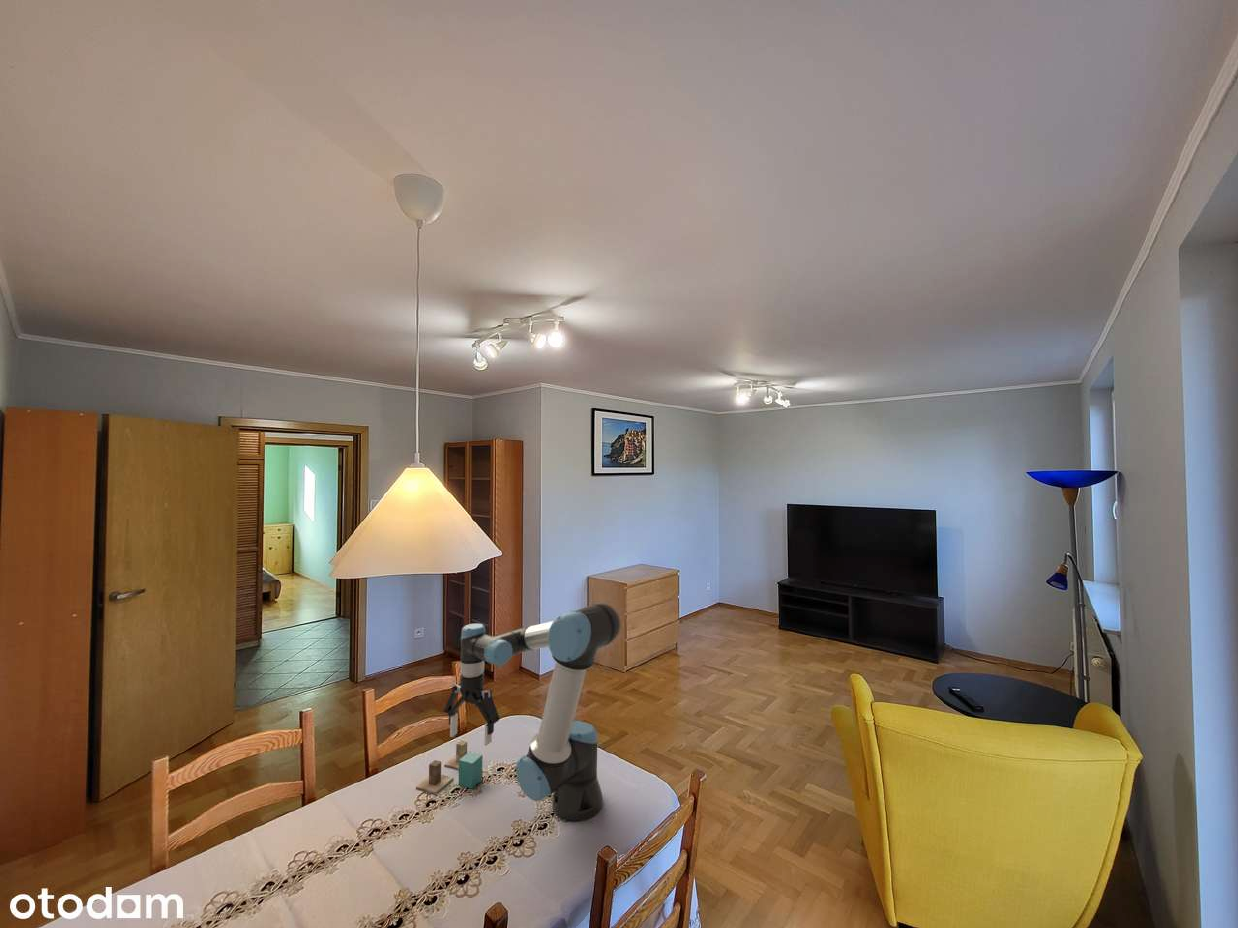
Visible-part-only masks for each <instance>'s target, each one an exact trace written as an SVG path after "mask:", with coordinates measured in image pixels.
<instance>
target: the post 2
mask: <svg viewBox="0 0 1238 928" xmlns="http://www.w3.org/2000/svg"><path fill="white" fill-rule="evenodd" d="M455 747H456V749H455V751H456V752H455V755H454V756H453V757H452V758H450V759H449V760H448V761H447V762H446V763H443V764H444V765H443V766H444V767H446V768H449V769H454V770H458V771H459V760H460V759H461V758H462V757H463V756H465V755H466V754H467V753H468V741H466V740H462V739H461V740H460V741H458V742H457V743H456V745H455Z"/></svg>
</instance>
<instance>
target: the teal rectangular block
mask: <svg viewBox="0 0 1238 928" xmlns="http://www.w3.org/2000/svg"><path fill="white" fill-rule="evenodd" d="M482 780H483V754H480V753H476V752H472V751H467V754H466V755H465V756H463V757H462V758H461V759H460V760H459V770H458V785H459V786H461V787H465V788H469V789H474V787H476V785H478V784H479V783H480V782H481V781H482Z"/></svg>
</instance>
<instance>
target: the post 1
mask: <svg viewBox="0 0 1238 928" xmlns="http://www.w3.org/2000/svg"><path fill="white" fill-rule="evenodd" d="M453 780H454V777H453V776H448V775H444V774H442V761H440V760H436V759H434V760H433V761H432V762H430V763H429V764H428V776H427V777H426V778H425V779H424V780H422V781H421V782H420V783H418V784H417V785H416V786H415V789H417V790H420V791H422V792H423V791H424V792H427V793H429V794H433V795H437V794H438V793H439V792H441V791H442V790H443V789H444V788H445V787H447V786H448V785H449V784H450V783H451V782H453Z"/></svg>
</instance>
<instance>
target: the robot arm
mask: <svg viewBox="0 0 1238 928" xmlns="http://www.w3.org/2000/svg"><path fill="white" fill-rule="evenodd" d="M620 617H621V616H620V614H619V613H618V611H617V610H616V609H615V608H614V607H613V606H612V605H609V604H607V603H595V604H592V605H589V606H584V607H583V608H579V609H576V610H569V611H567V612H565V613H563V614H561V615H559V616H558V617H556V618H555V619H554V620H551V621H546V622H543V623H537V624H534V625H527V626H524V627H521V628H518V629H515V630H512V631H508V632H505V633H501V634H498V635H495V636H492V635H490V634H487V633H486V626H485V625H484V623H477V622H476V623H475V622H474V623H469V624H466V625H464V626H463V627H462V629H461V634H460V635H461V637H460V666H459V667H460V668H459V669H460V670H459V671H460V675H459V683H457V684H455V685H453V686H452V689H451V693H450V696H449V698H448V700H447V702H446V704H445V707H444V708H443V712H444V714H447V715H448V725H449V737H450V738H452V737H454V736H455V735H457V734H458V723H459V722H458V721H459V720H458V719H459V712H457V711H458V709H460V707H461V706H462V705H463V704H464V703H467V704H468V703H470V704H471V705H472V704H473V705H475V707H477V708H478V710H479V711H480V714H481V715H482V717H483V718H484V720H485V722H486V723H485V724H484V747H485V746H488V745H489V744H490V743H492V741H493V737H492V735H493V733H494V731H495V724H497V722H499V721H500V718H501V717H500V715H499V713H498V710H497V707H496V704H495V701H494V699H493V693H492V690H491V689H489V690H484V683H485V673H484V672H485V662H486V663H488V664H490V665H494V666H498V667H499V666H504V665H506V664H507V663H508V662H509V661H510V660H511V658H512V657H513V656H516V655H518V654H522V653H524V652H529V651H534V650H538V649H543V648H549V650H550V653H551V655H552V659H553V661H554V662H555V665H554V669H553V673H552V676H551V679H550V680H551V681H550V684H549V689H548V693H547V697H546V701H545V705H544V710H543V714H542V717H541V722H540V725H539V729H538V733H536V734H535V735H534V736H533V737H532V739H531V741H530V744H529V747H528V753H526V755H523V756H521V758H519V759H518V760H517V763H516V766H515V775H516V779H517V782H518V784H519V787H520V788H521V790H522V792H523V794H524V795H525V796H527V798H528V799H529V800H531V801H534V802H540V801H542V800H544V799H545V798H548V797H550V796H551V795H552V801H551V803H552V811H553V812H554V813H555V815H556V816H558V817H559V818H561V819H563V820H565V821H570V822H582V821H586V820H589V819H591V818H593V817H595V816H596V815H597V814H598V813H600V811H601V810H602V808H603V792H602V789H601V785H600V783H599V779H598V742H599V740H598V734H597V733H598V732H597V729H596V728H595V727H594V726H593V724H590V723H589V722H584V721H579V720H575V716H576V712H577V708H578V704H579V699H580V696H581V693H582V688H583V684H584V680H585V676H586V672H587V670H589V669H591V668H592V667H593V666H594V665H595V660H596V656H597V652H598V650H599V649H601V648H604V647H607V646H609V645H611V644H612V643H613V642H614V641H615V640H616V639H617V638H618V636H619V635H620V632H621V627H622V622H621V618H620ZM459 694H461V696H460V698H458V695H459ZM457 698H458V700H457ZM456 700H457V701H456ZM455 702H456V703H455Z"/></svg>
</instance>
